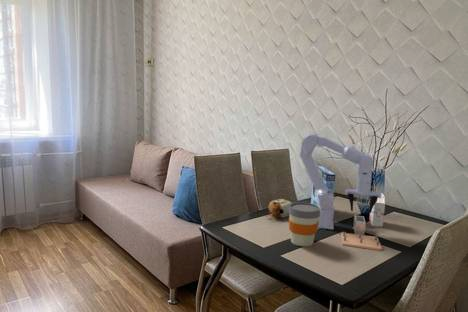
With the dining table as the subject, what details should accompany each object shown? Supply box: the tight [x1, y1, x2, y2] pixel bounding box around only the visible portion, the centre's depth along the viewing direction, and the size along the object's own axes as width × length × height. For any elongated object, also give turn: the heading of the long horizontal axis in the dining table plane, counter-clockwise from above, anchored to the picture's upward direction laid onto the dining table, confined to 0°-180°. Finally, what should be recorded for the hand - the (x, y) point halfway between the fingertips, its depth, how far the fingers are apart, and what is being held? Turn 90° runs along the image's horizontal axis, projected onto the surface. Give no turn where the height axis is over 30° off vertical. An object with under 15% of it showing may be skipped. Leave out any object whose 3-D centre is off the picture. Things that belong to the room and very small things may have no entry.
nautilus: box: [265, 198, 293, 220], centre depth 170 cm, size 8×22×15 cm
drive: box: [352, 215, 366, 235], centre depth 154 cm, size 4×8×6 cm, turn 165°
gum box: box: [310, 165, 336, 206], centre depth 177 cm, size 20×5×23 cm, turn 4°
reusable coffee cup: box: [288, 201, 320, 247], centre depth 140 cm, size 13×12×15 cm
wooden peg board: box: [340, 231, 383, 251], centre depth 143 cm, size 15×12×2 cm
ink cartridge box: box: [368, 192, 386, 227], centre depth 164 cm, size 9×5×15 cm, turn 168°
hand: (360, 211), depth 153 cm, fingers open, 7 cm apart
